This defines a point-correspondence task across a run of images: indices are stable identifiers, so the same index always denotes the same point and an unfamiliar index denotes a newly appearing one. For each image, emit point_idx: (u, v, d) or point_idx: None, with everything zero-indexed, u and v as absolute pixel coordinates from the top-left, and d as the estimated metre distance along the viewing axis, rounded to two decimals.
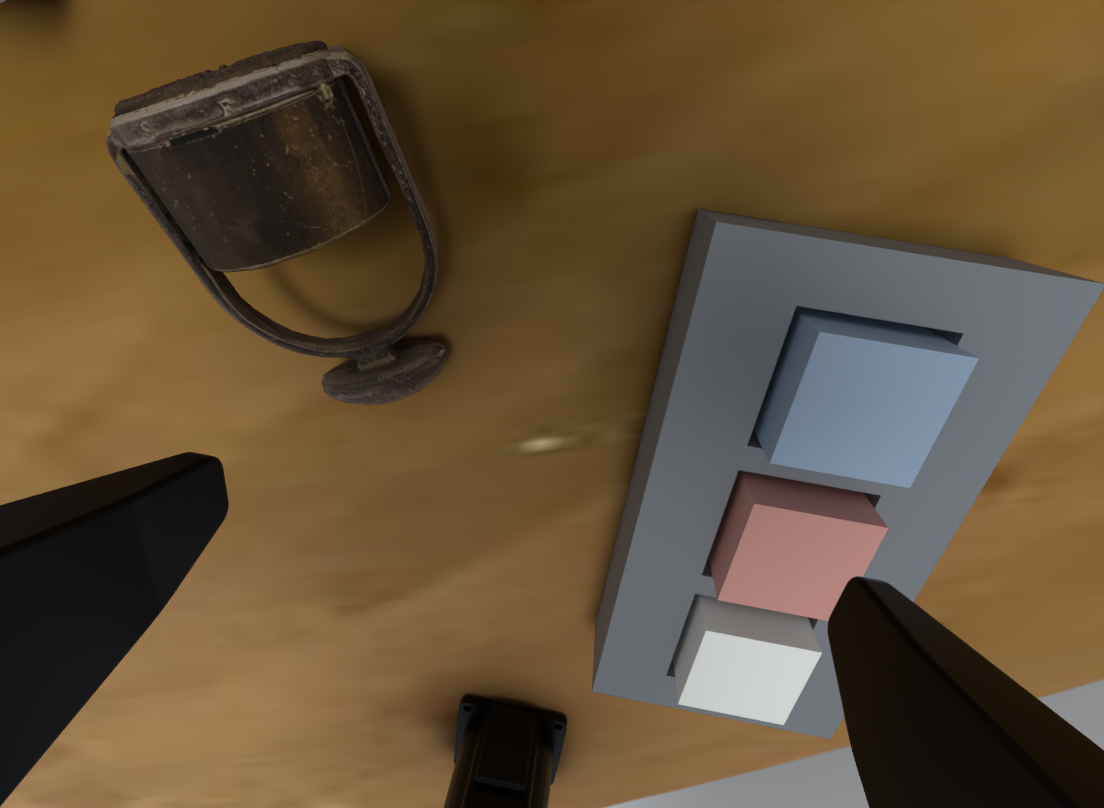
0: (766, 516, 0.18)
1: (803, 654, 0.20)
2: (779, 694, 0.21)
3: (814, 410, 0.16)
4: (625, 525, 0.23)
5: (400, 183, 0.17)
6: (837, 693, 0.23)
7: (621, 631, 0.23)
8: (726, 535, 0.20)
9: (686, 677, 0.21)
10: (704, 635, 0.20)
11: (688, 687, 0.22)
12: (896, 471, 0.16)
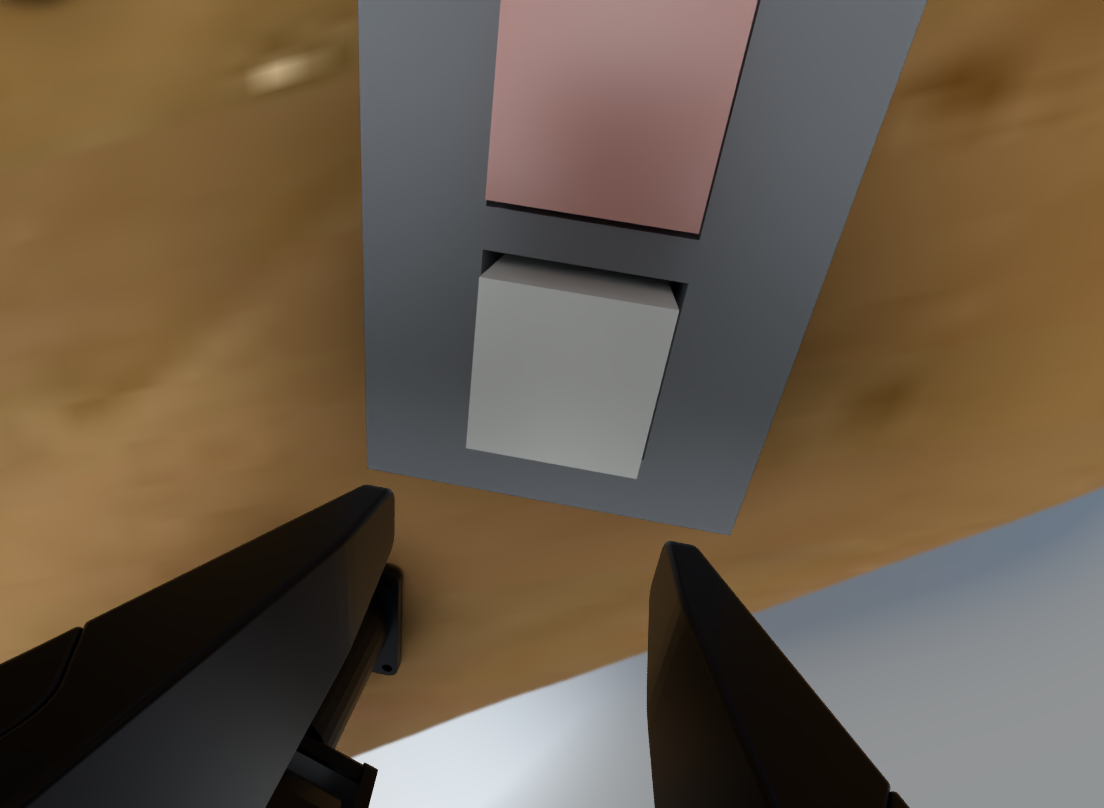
0: None
1: (647, 317, 0.12)
2: (621, 413, 0.13)
3: None
4: None
5: None
6: (732, 444, 0.14)
7: (385, 343, 0.14)
8: None
9: (471, 392, 0.13)
10: (478, 289, 0.12)
11: (475, 411, 0.13)
12: None
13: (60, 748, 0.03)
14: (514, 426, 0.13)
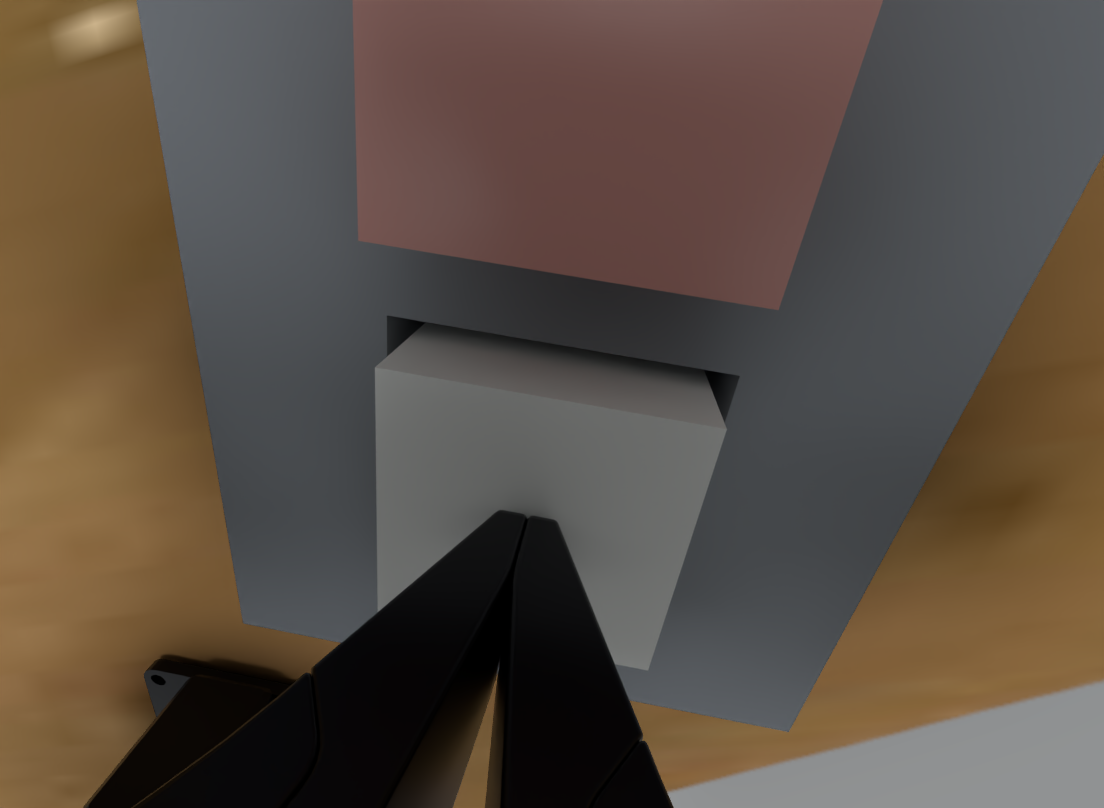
0: None
1: (669, 438, 0.07)
2: (623, 580, 0.08)
3: None
4: None
5: None
6: (800, 614, 0.09)
7: (245, 455, 0.09)
8: None
9: (380, 538, 0.08)
10: (376, 387, 0.07)
11: (388, 567, 0.08)
12: None
13: (341, 807, 0.03)
14: None
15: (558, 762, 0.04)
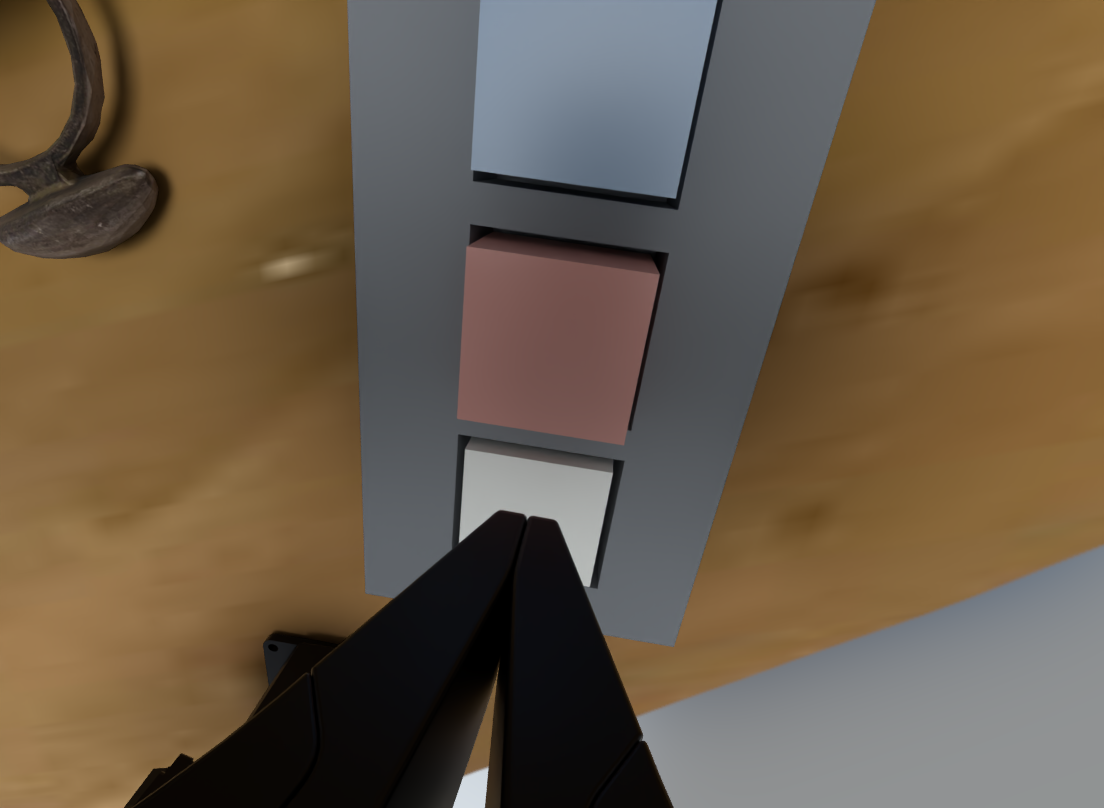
0: (488, 269, 0.12)
1: (590, 477, 0.16)
2: (574, 541, 0.17)
3: (512, 64, 0.10)
4: None
5: None
6: (670, 577, 0.17)
7: (379, 499, 0.17)
8: None
9: (461, 524, 0.17)
10: None
11: (464, 538, 0.17)
12: (650, 169, 0.11)
13: None
14: None
15: (558, 762, 0.04)
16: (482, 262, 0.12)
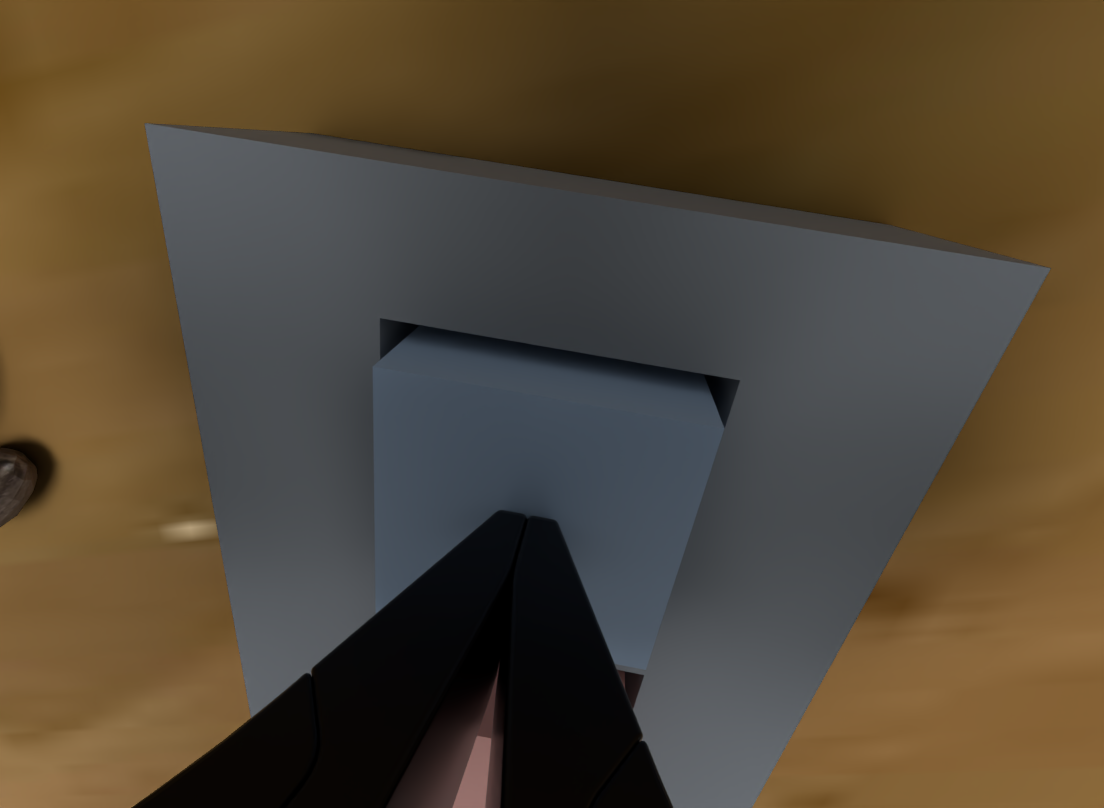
0: None
1: None
2: None
3: (421, 526, 0.08)
4: None
5: None
6: None
7: None
8: None
9: None
10: None
11: None
12: (612, 640, 0.08)
13: (341, 807, 0.03)
14: None
15: (558, 762, 0.04)
16: None
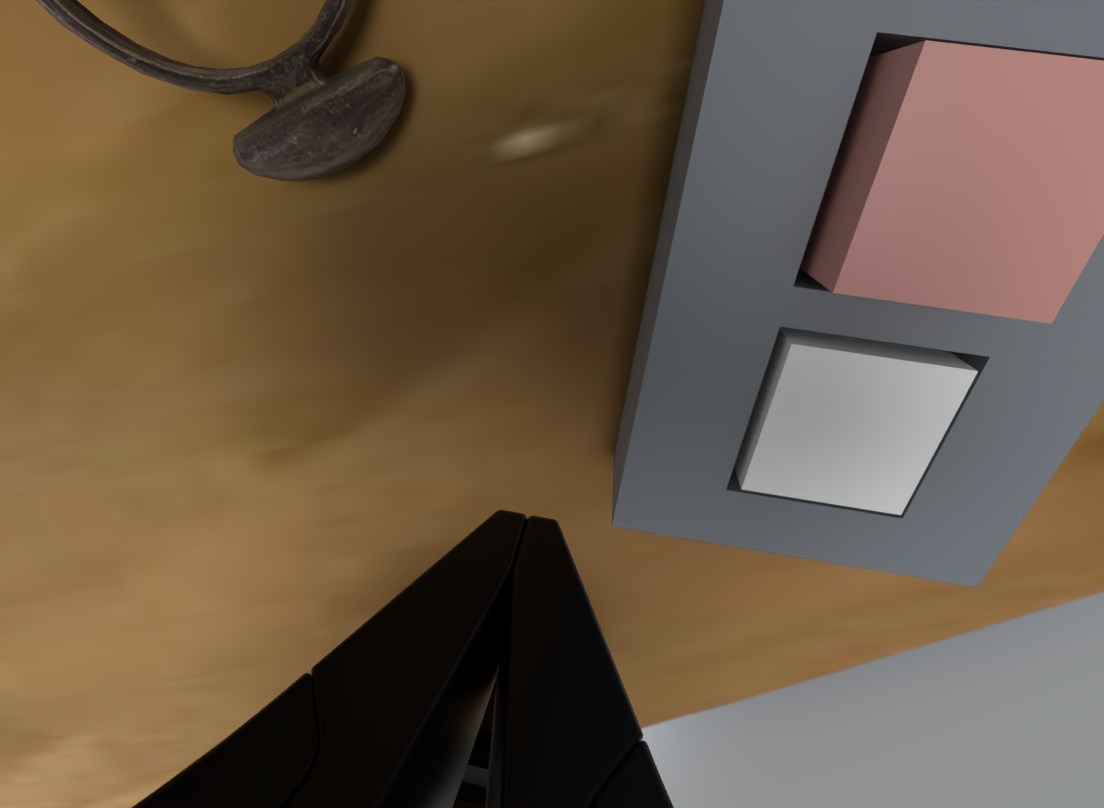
0: (946, 74, 0.09)
1: (946, 377, 0.13)
2: (899, 458, 0.14)
3: None
4: (659, 253, 0.15)
5: None
6: (1000, 504, 0.14)
7: (657, 412, 0.14)
8: (845, 186, 0.11)
9: (756, 440, 0.14)
10: (788, 354, 0.13)
11: (758, 457, 0.14)
12: None
13: (341, 807, 0.03)
14: (793, 470, 0.14)
15: (558, 762, 0.04)
16: (941, 63, 0.09)
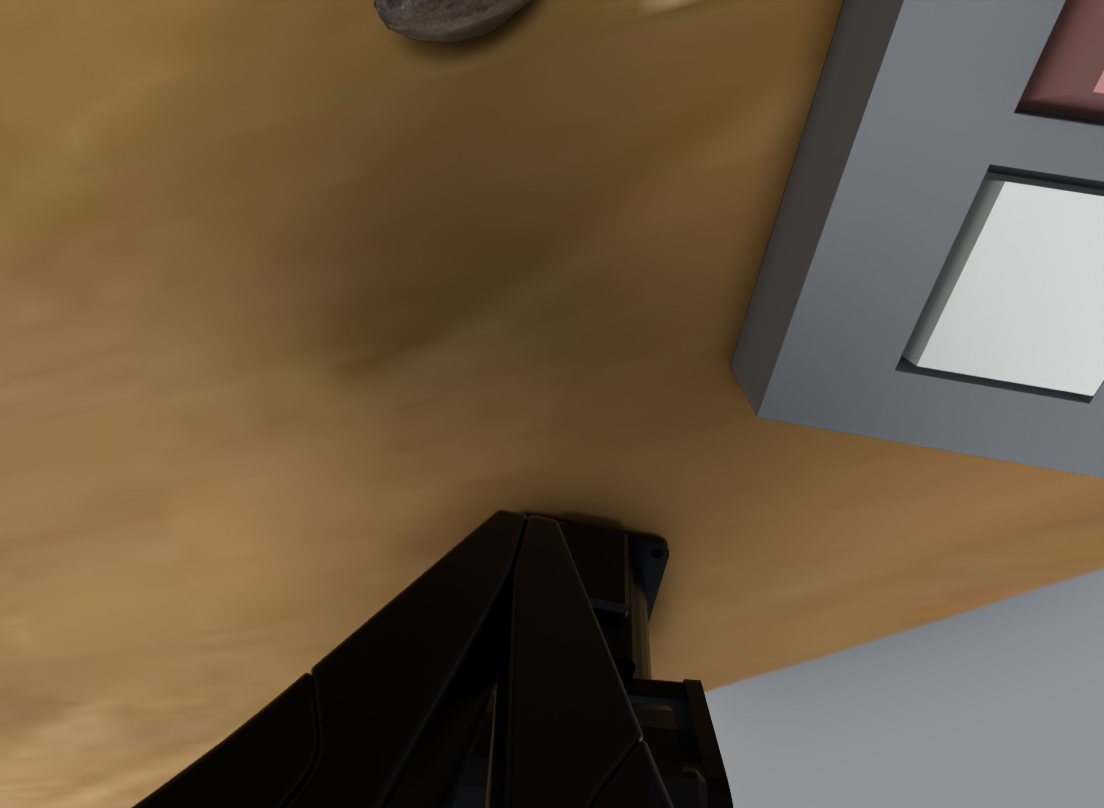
0: None
1: None
2: None
3: None
4: (830, 106, 0.14)
5: None
6: None
7: (831, 274, 0.13)
8: None
9: (941, 306, 0.13)
10: (998, 194, 0.12)
11: (942, 326, 0.13)
12: None
13: None
14: (979, 341, 0.13)
15: (558, 762, 0.04)
16: None
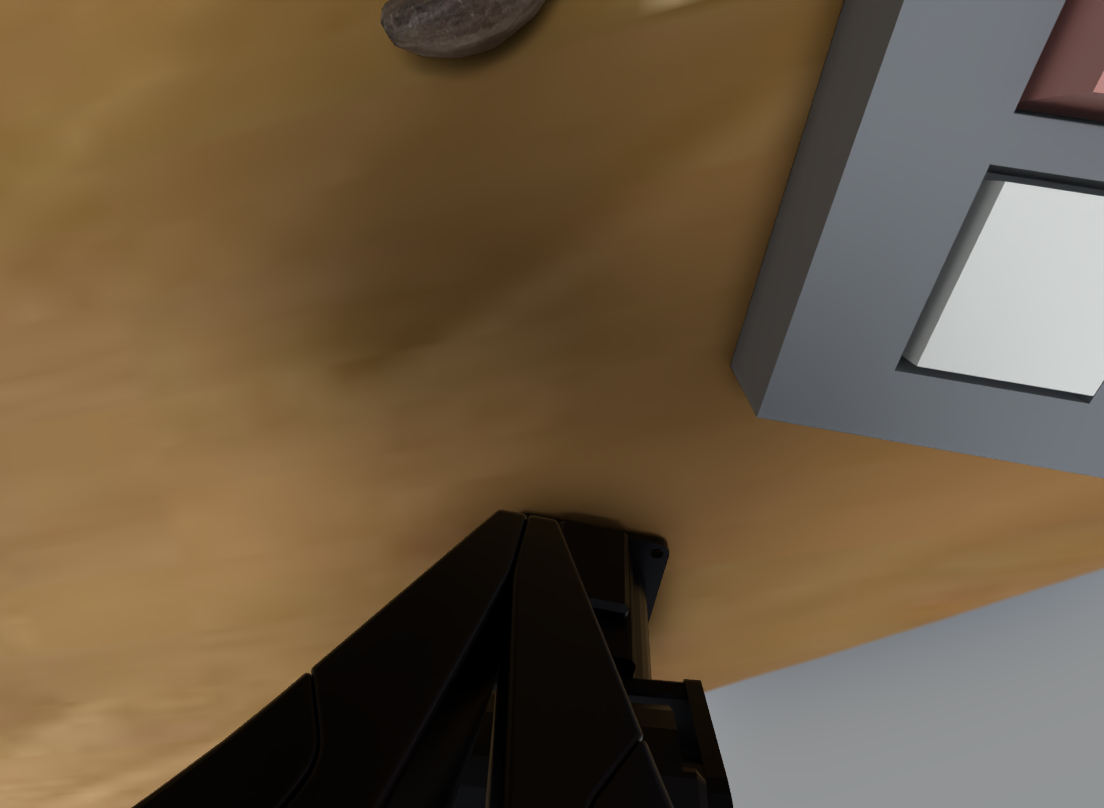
0: None
1: None
2: None
3: None
4: (830, 106, 0.14)
5: None
6: None
7: (831, 274, 0.13)
8: None
9: (941, 306, 0.13)
10: (998, 194, 0.12)
11: (942, 326, 0.13)
12: None
13: None
14: (979, 341, 0.13)
15: (558, 762, 0.04)
16: None
